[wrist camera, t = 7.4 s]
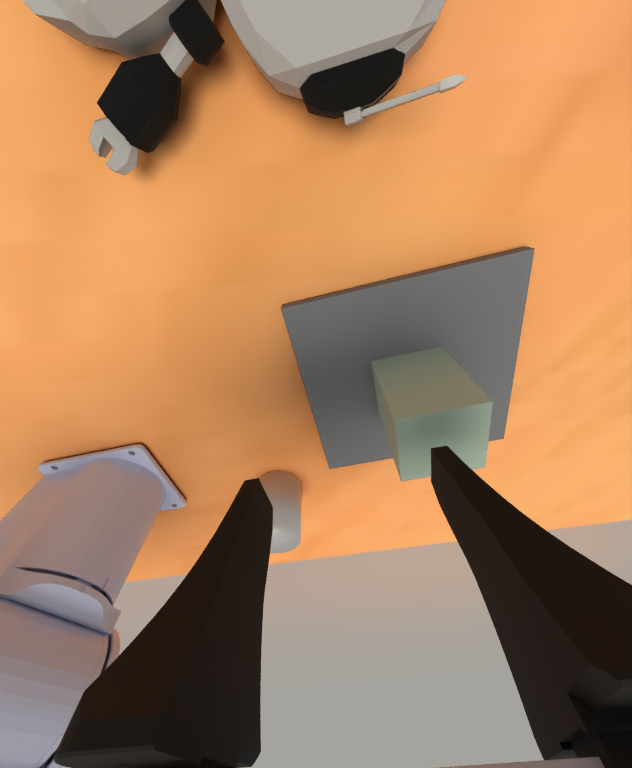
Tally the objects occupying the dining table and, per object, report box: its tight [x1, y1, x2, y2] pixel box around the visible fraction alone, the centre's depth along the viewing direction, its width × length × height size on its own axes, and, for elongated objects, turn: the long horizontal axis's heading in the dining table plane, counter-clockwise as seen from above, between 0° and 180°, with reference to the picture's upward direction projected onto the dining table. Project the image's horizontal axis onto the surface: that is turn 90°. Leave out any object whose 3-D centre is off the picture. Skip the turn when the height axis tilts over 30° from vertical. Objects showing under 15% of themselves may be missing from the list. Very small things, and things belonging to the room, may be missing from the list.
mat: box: [281, 247, 534, 469], centre depth 20 cm, size 14×14×1 cm
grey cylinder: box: [259, 471, 302, 553], centre depth 24 cm, size 4×4×5 cm
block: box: [371, 346, 493, 481], centre depth 17 cm, size 4×4×6 cm
